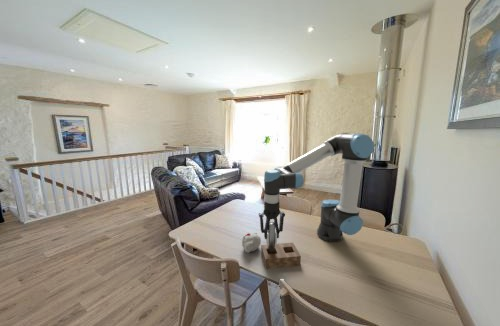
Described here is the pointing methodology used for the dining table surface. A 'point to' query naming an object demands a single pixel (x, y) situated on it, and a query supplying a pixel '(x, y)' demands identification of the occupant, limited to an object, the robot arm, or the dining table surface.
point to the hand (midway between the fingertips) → (271, 243)
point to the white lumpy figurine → (251, 242)
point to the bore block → (281, 255)
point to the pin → (271, 237)
